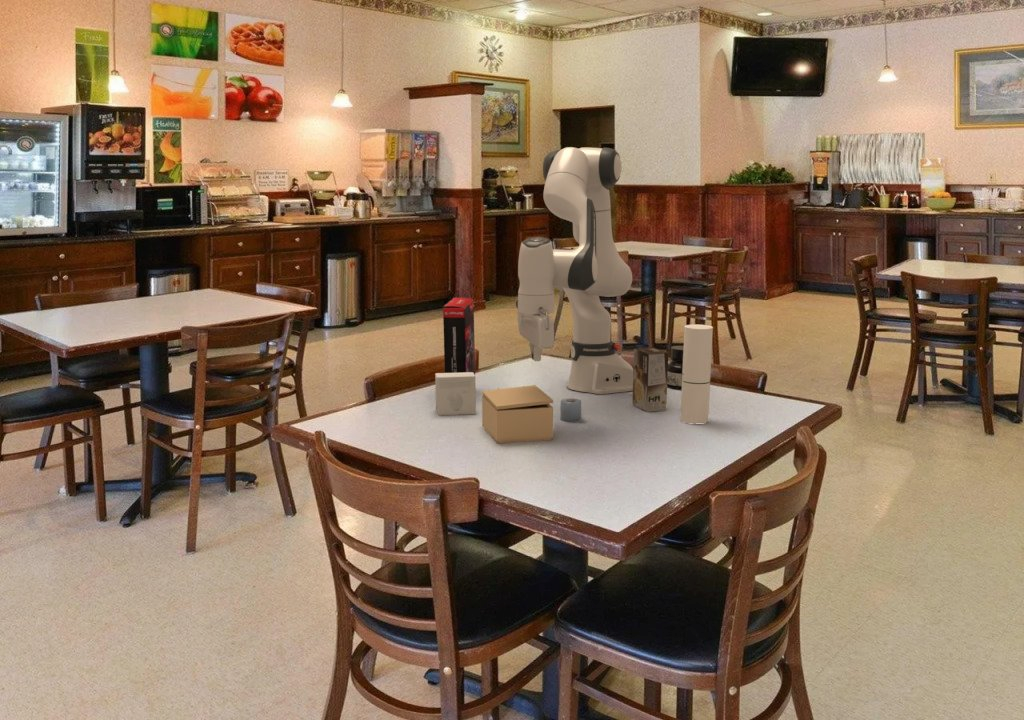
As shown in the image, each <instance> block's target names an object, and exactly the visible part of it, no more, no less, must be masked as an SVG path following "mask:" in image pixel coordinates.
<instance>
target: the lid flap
mask: <svg viewBox="0 0 1024 720" xmlns="http://www.w3.org/2000/svg"><path fill="white" fill-rule="evenodd" d="M481 395H483V396H484V397H485V398H486V399H487V400H488V401H489V402H490V403H491V404H492V405H493V406H494V407H495V408H496V409H497V410H499V409H508V408H516V407H525V406H534V405H542V404H550V405H552V404H554V399H553V398H551V396H549V395H548V394H547V393H545V392H544V391H543V390H541V389H540V388H539V387H538V386H537V385H535V384H532V385H524V386H515V387H514V386H513V387H506V388H505V387H504V388H498V389H489V390H482V391H481Z"/></svg>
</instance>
